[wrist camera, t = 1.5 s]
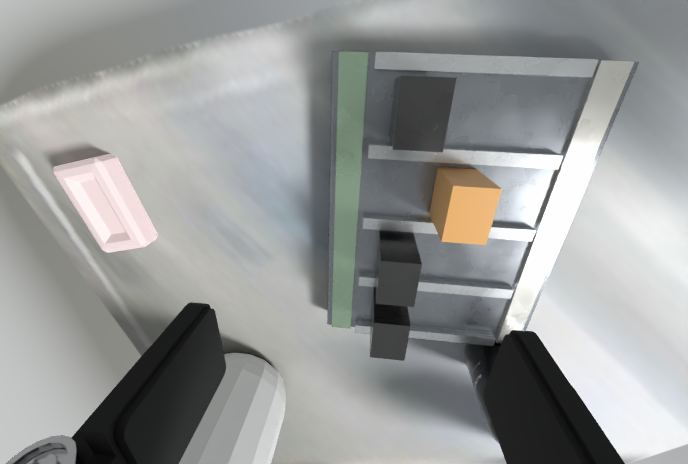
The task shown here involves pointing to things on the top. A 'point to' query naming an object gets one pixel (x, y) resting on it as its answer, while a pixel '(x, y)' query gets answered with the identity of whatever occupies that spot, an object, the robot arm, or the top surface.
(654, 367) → the top surface
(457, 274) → the breaker panel
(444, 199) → the handle
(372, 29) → the top surface
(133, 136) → the top surface
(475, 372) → the supplement bottle
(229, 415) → the soap bottle
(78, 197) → the soap bar
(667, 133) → the top surface
